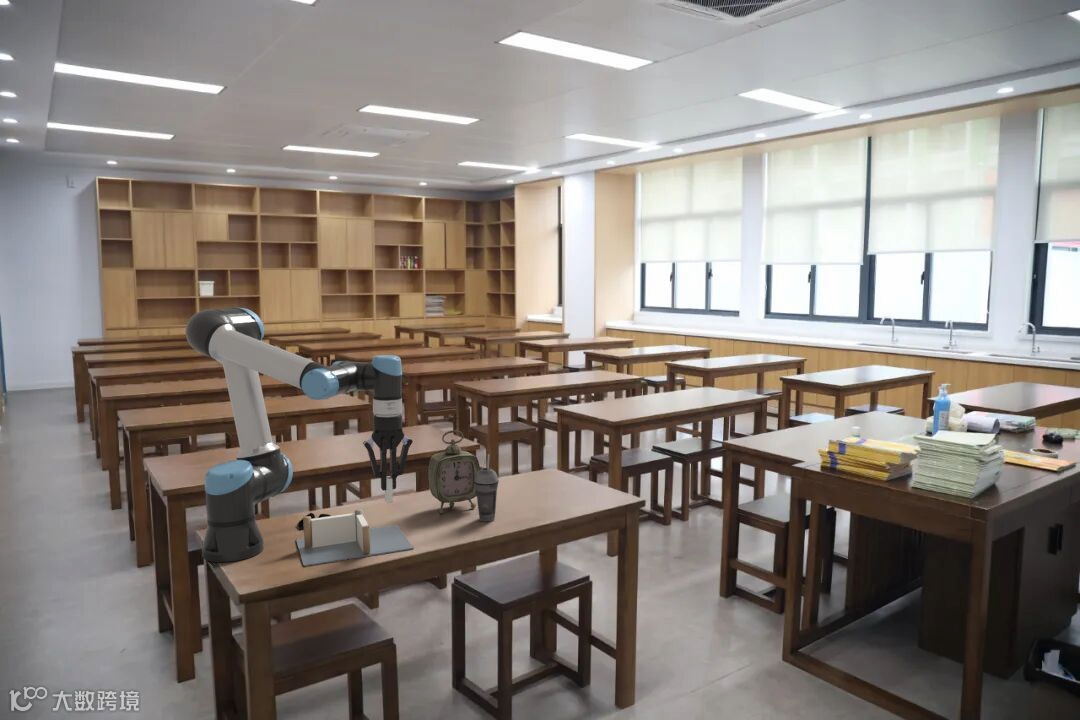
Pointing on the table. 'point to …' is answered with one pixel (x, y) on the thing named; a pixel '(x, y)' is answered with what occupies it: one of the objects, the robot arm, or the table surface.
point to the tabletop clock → (453, 474)
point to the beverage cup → (486, 492)
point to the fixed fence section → (330, 529)
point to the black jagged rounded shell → (300, 524)
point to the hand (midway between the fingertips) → (388, 501)
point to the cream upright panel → (363, 533)
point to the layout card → (356, 547)
